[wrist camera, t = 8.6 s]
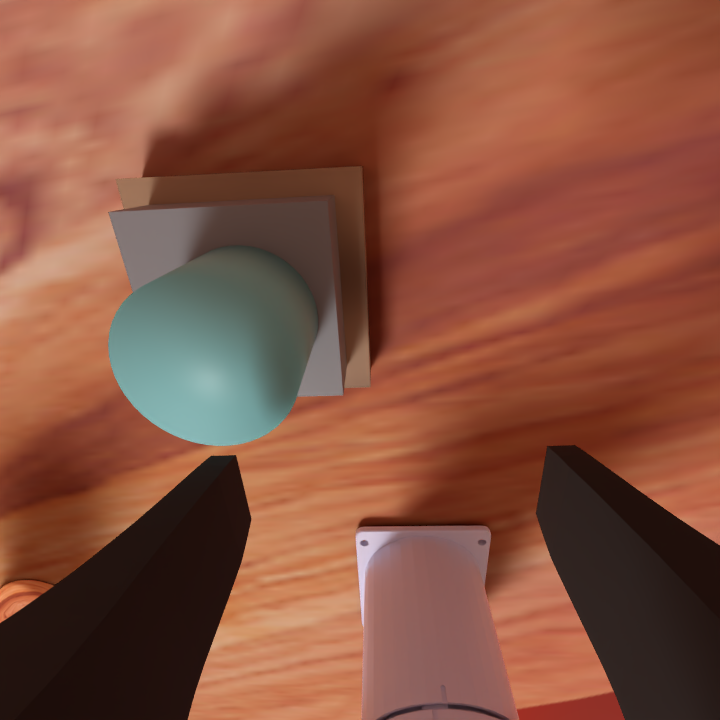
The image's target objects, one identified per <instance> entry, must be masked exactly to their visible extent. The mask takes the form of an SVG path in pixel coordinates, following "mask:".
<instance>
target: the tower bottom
mask: <svg viewBox="0 0 720 720" xmlns="http://www.w3.org/2000/svg"><path fill="white" fill-rule="evenodd" d="M116 183H117V186H118V190H119V193H120V197H121V200H122V204H123V208H124V209H128V208H134V207H139V206H145V205H156V204H174V203H193V202H212V201H231V200H249V199H268V198H287V197H306V196H324V195H335V209H336V223H337V236H338V250H339V264H340V277H341V291H342V305H343V319H344V332H345V346H346V360H347V370H346V378H345V385H344V388H357V387H370V384H371V362H370V337H369V312H368V287H367V262H366V237H365V212H364V187H363V166H353V167H334V168H315V169H296V170H277V171H258V172H239V173H220V174H201V175H182V176H163V177H144V178H125V179H116Z"/></svg>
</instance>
